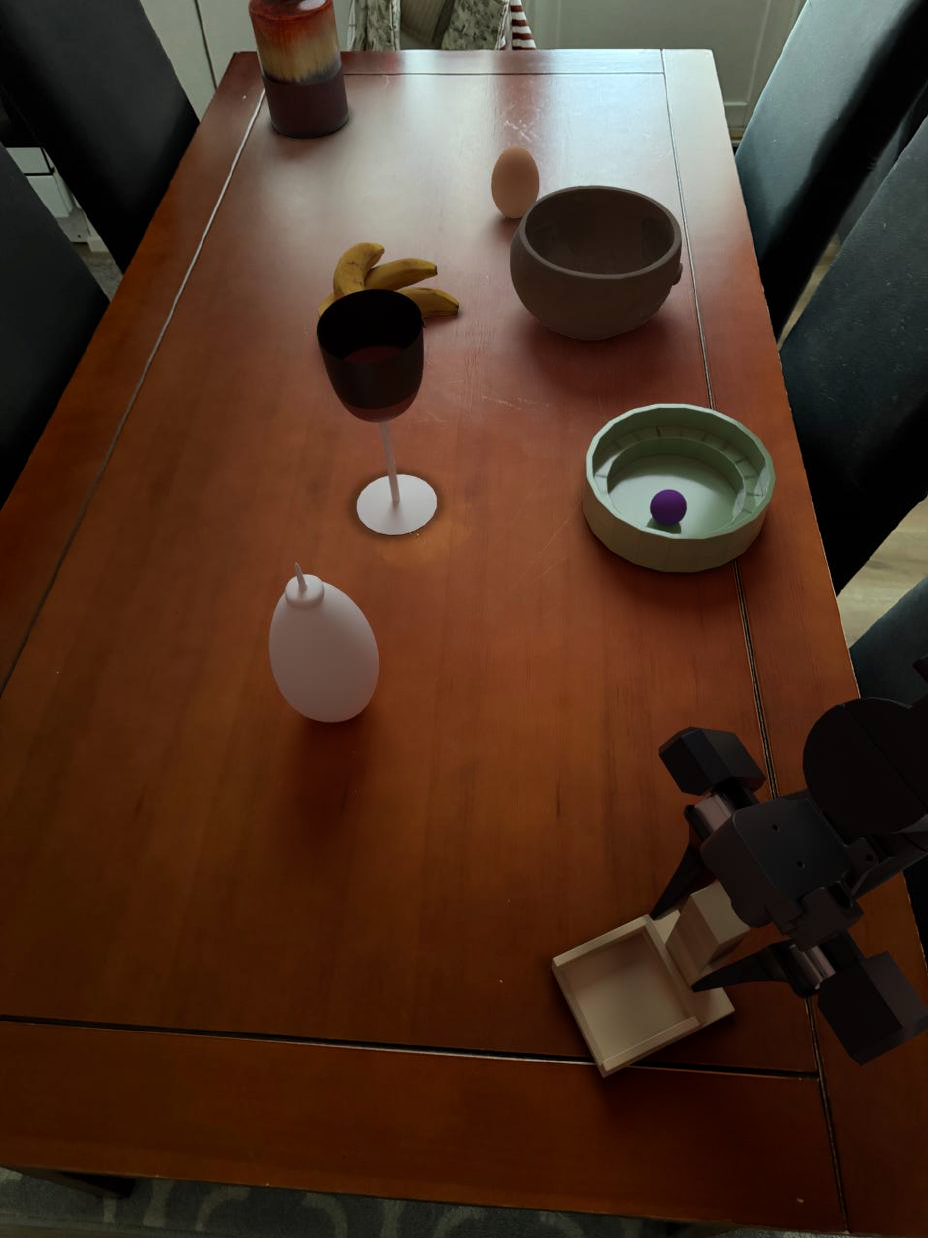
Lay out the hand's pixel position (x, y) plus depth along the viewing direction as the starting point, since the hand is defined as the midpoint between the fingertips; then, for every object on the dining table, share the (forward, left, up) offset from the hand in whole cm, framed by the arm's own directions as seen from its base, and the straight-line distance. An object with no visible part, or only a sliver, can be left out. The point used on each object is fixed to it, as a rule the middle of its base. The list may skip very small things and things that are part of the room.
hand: (674, 952), depth 53 cm
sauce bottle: (+29, -12, -7) cm, 32 cm away
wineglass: (+33, -33, -7) cm, 47 cm away
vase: (+73, -95, -7) cm, 120 cm away
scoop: (+1, +1, -7) cm, 7 cm away
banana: (+44, -57, -7) cm, 72 cm away
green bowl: (+9, -41, -7) cm, 43 cm away
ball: (+9, -39, -5) cm, 40 cm away
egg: (+38, -81, -7) cm, 90 cm away
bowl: (+24, -66, -7) cm, 71 cm away
